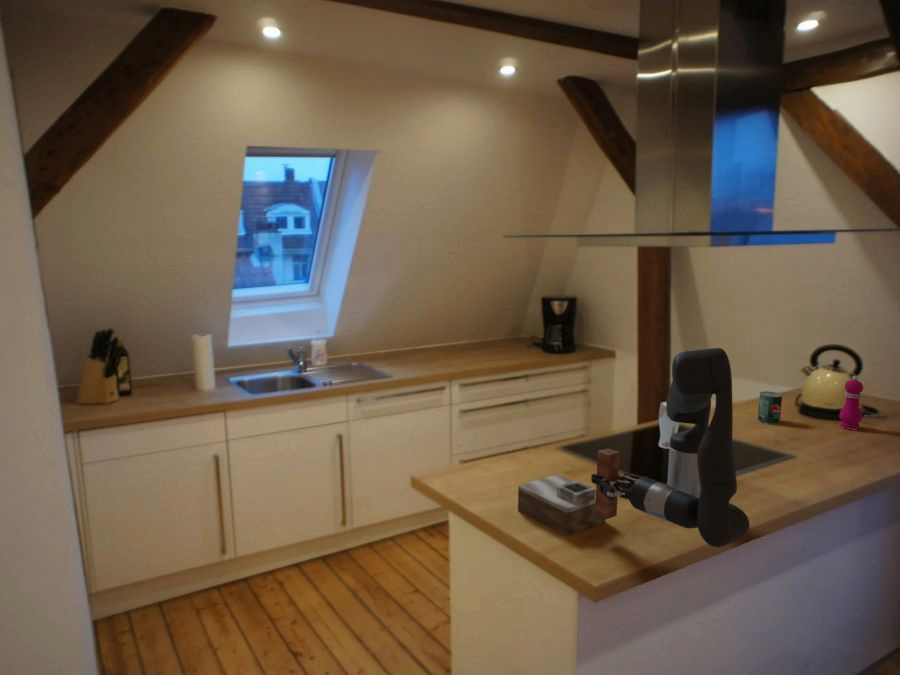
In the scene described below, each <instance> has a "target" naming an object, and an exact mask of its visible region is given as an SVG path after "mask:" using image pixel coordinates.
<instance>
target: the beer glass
mask: <svg viewBox="0 0 900 675" xmlns="http://www.w3.org/2000/svg"><path fill="white" fill-rule="evenodd" d="M666 402H667V401H661V402H660V406H659V412H658V423H659V424H658V425H659V435H660V436H659V441H658V447H660V448H662V449H665V450H669V448H670V438H671V436H672V435H673V434H675V433H678V431H679V426H680V423H678V422H674V421H672V420H670V418H669V417H668V414H667V410H666Z"/></svg>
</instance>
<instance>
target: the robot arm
mask: <svg viewBox="0 0 900 675" xmlns="http://www.w3.org/2000/svg"><path fill="white" fill-rule="evenodd" d="M730 362H731V361H730V359H729V356H728V354H727V352H726V350H724V349H723V348H721V347H714V348H713V347H712V348H706V349H704V348H703V349H695V350H686V351H682V352H679V353H677V354H676V355H675V357H674V358H673V360H672V362H671V363H672V365H671V377H672V379H671V380H672V381H671V384H670V387H669V388H670V389H669V392H668V394H667V397H666V401H665V402H666V410H667V414H668V417H669V418H670V420H672V421H674V422H678V423H679V424H680V423H681V424H691V425H693V426H692V427H690V428H689V429H686V430H683V431H679V432H678V431H677V433H675V434H673V435H672V436H671V438H670V448H669V449H668V450H669V452H668V465H667V466H668V469H667V480H666V481H667V483H666V484H665V483H662V482H660V481H657V480H655V479H652V478H649V477H648V476H643V475H638V474H633V473H628V472H624V473H623V474H622V473H619V476H618V479H613V480H611V479H607V478H604V477H602V476H599V475H597V473H592V474H591V478H590V479H591V483H592V484H594V485H599V492H601V493H602V494H603V495H604V496H606V497H607V498H608V499H609V500H614V496H618V497H620V498H621V499H625V500H628V501H629V502H630V504H631V506H632V507H633V508H634V509H636V510H638V511H639V512H640V511H641V512H643V513H645V514H648V515H649V516H652V517H655V518H657V519H660V520H663V521H666V522H670V523H672V524H673V525H674V524H675V525H677V526H680V527H682V528H685V529H690V530H691V529H696V528H698V532H699V534H700V536H701V538H702V539H703V541H704V542H705V543H706V544H708V546H711V547H714V548H723V547H725V546H728V545H729V544H732V543H733V542H736V541H738V540H740V539H741V538H743V537H744V536H746V535H747V533H748V532H749V529H750V519H749V517H748V516H747V514H746V513H745V512H744V511H743V510H742V509H741V508H740V507H738V506H737V505H735V504H732V503H730V501H731V499H732V498H733V497H734V496H735V495H736V493H737V490H738V483H737V475H736V467H735V460H734V459H735V458H734V446H733V429H734V428H733V418H734V417H733V380H732V379H733V378H732V377H733V375H732V369H731V363H730ZM713 395H715V408H714V411H713V415H712V418H711V420H710V415H711V408H712V397H713ZM709 422H710V423H709ZM608 483H610V484H611V486H610V485H609V484H608ZM616 483H617V484H616Z"/></svg>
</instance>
